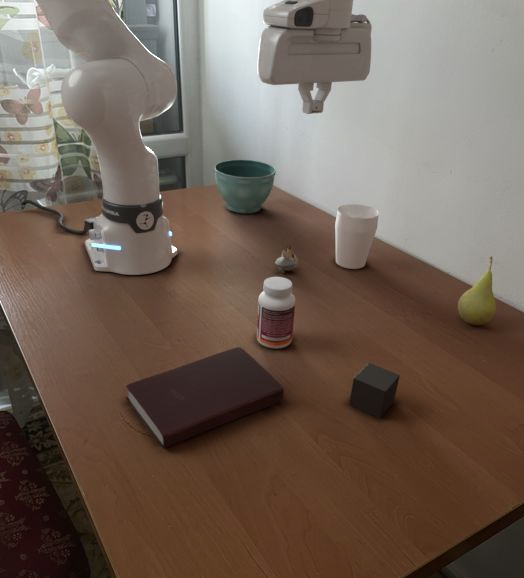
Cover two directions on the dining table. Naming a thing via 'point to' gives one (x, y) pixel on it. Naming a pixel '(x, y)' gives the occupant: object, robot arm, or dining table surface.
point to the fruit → (478, 301)
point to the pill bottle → (276, 313)
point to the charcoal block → (374, 390)
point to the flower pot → (244, 184)
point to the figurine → (286, 261)
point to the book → (203, 395)
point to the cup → (354, 234)
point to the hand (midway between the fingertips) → (312, 112)
